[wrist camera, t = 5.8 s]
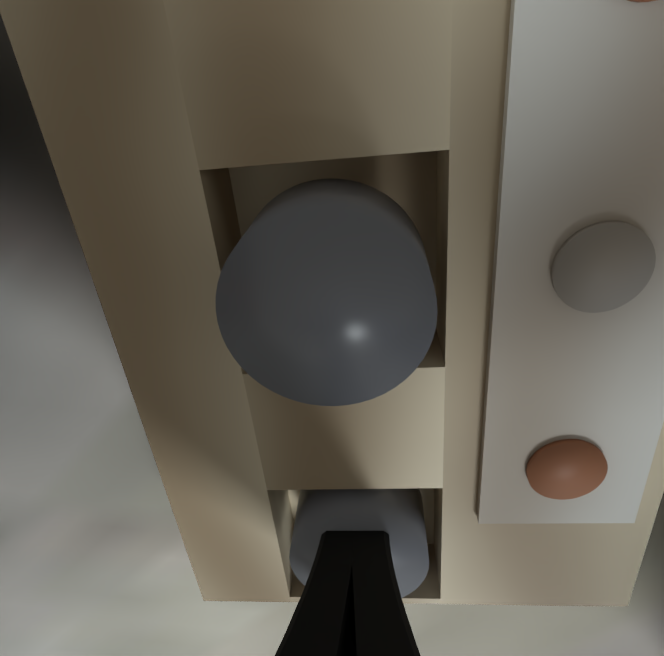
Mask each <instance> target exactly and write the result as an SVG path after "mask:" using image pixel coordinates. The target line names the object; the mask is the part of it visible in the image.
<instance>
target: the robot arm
mask: <svg viewBox="0 0 664 656" xmlns="http://www.w3.org/2000/svg"><path fill="white" fill-rule="evenodd" d="M275 656H420V653H419V650H418V648H417V645H416V642H415V639H414V636H413V633H412V630H411V627H410V624H409V621H408V618H407V614H406V611H405V608H404V605H403V601H402V598H401V594H400V590H399V586H398V583H397V579H396V575H395V570H394V566H393V560H392V555H391V548H390V539H389V534H388V533H387V532H385V531H325V532H324V533H323V534H321V538H320V542H319V546H318V549H317V553H316V556H315V559H314V562H313V565H312V568H311V571H310V574H309V577H308V579H307V582H306V585H305V587H304V590H303V593H302V595H301V598H300V600H299V602H298V605H297V607H296V609H295V612H294V614H293V617H292V619H291V621H290V624H289V626H288V628H287V631H286V633H285V635H284V637H283V640H282V642H281V644H280V646H279V648H278V650H277V652H276V654H275Z"/></svg>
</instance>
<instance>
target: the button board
mask: <svg viewBox="0 0 664 656" xmlns="http://www.w3.org/2000/svg"><path fill="white" fill-rule="evenodd" d="M0 13H1V16H2V19H3V22H4V25H5V28H6V31H7V34H8V37H9V39H10V42H11V45H12V48H13V51H14V54H15V57H16V60H17V63H18V65H19V68H20V71H21V74H22V77H23V80H24V83H25V86H26V89H27V91H28V94H29V97H30V100H31V103H32V106H33V109H34V112H35V114H36V117H37V120H38V123H39V126H40V129H41V132H42V135H43V138H44V140H45V143H46V146H47V149H48V152H49V155H50V158H51V161H52V164H53V166H54V169H55V172H56V175H57V178H58V181H59V184H60V187H61V190H62V192H63V195H64V198H65V201H66V204H67V207H68V210H69V213H70V216H71V218H72V221H73V224H74V227H75V230H76V233H77V236H78V239H79V242H80V244H81V247H82V250H83V253H84V256H85V259H86V262H87V265H88V268H89V270H90V273H91V276H92V279H93V282H94V285H95V288H96V291H97V294H98V296H99V299H100V302H101V305H102V308H103V311H104V314H105V317H106V320H107V322H108V325H109V328H110V331H111V334H112V337H113V340H114V343H115V346H116V348H117V351H118V354H119V357H120V360H121V363H122V366H123V369H124V372H125V374H126V377H127V380H128V383H129V386H130V389H131V392H132V395H133V398H134V400H135V403H136V406H137V409H138V412H139V415H140V418H141V421H142V424H143V426H144V429H145V432H146V435H147V438H148V441H149V444H150V447H151V450H152V452H153V455H154V458H155V461H156V464H157V467H158V470H159V473H160V476H161V478H162V481H163V484H164V487H165V490H166V493H167V496H168V499H169V502H170V504H171V507H172V510H173V513H174V516H175V519H176V522H177V525H178V528H179V530H180V533H181V536H182V539H183V542H184V545H185V548H186V551H187V554H188V556H189V559H190V562H191V565H192V568H193V571H194V574H195V577H196V580H197V582H198V585H199V588H200V591H201V594H202V597H203V600H204V601H256V602H299V600H300V598H301V595H302V593H303V590H304V587H305V585H303V584H302V583H301V582H300V581H299V580H298V578H297V577H296V575H295V574H294V572H293V570H292V568H291V565H290V559H289V554H290V547H291V541H292V535H293V529H294V523H295V517H296V511H297V505H298V499H299V493H300V490H313V489H407V488H419V490H420V492H421V496H422V501H423V510H424V519H425V528H426V538H427V547H428V556H429V570H428V573H427V576H426V577H425V579H424V581H423V582H422V583H421V585H420V586H419V587H418V588H417V589H416V590H414V591H413V592H411V593H410V594H408V595H407V596H405V597H403V598H402V601H403V604H474V605H547V606H619V607H628V604H629V601H630V598H631V595H632V592H633V588H634V585H635V582H636V579H637V576H638V572H639V569H640V566H641V563H642V560H643V556H644V553H645V550H646V547H647V544H648V540H649V537H650V534H651V531H652V528H653V524H654V521H655V518H656V515H657V512H658V508H659V505H660V502H661V499H662V496H663V492H664V0H0ZM327 178H338V179H346V180H352V181H356V182H360V183H364V184H366V185H368V186H371V187H373V188H376V189H377V190H379V191H381V192H383V193H384V194H386V195H387V196H389V197H390V198H391V199H393V200H394V201H395V202H396V203H398V204H399V206H400V207H401V208H402V209H403V210H404V211H405V212H406V213H407V214H408V216H409V217H410V218H411V220H412V221H413V223H414V224H415V226H416V228H417V230H418V232H419V234H420V237H421V240H422V242H423V246H424V249H425V253H426V257H427V261H428V265H429V269H430V273H431V276H432V280H433V284H434V289H435V293H436V298H437V311H438V313H437V325H436V329H435V333H434V338H433V340H432V343H431V345H430V348H429V350H428V352H427V354H426V355H425V357H424V359H423V360H422V362H421V363H420V364H419V366H418V367H417V368H416V370H415V371H414V372H413V373H412V374H411V375H410V376H409V377H408V378H407V379H406V380H404V381H403V382H402V383H400V384H399V385H398V386H397V387H395V388H393V389H392V390H390V391H388V392H387V393H385V394H383V395H381V396H378V397H376V398H374V399H371V400H368V401H364V402H361V403H356V404H351V405H343V406H319V405H311V404H306V403H302V402H297V401H294V400H291V399H288V398H286V397H283V396H281V395H279V394H277V393H274V392H272V391H271V390H269V389H267V388H266V387H264V386H263V385H261V384H260V383H258V382H257V381H256V380H254V379H253V378H252V377H251V376H250V375H249V374H248V373H246V372H245V371H244V370H243V369H242V368H241V366H240V365H239V364H238V363H237V361H236V360H235V359H234V358H233V356H232V355H231V353H230V351H229V350H228V348H227V346H226V344H225V342H224V340H223V338H222V335H221V332H220V329H219V326H218V322H217V316H216V299H215V297H216V290H217V283H218V280H219V277H220V273H221V270H222V268H223V266H224V264H225V262H226V260H227V258H228V257H229V255H230V254H231V252H232V251H233V249H234V248H235V246H236V245H237V243H238V242H239V240H240V239H241V238H242V236H243V235H244V233H245V232H246V231H247V229H248V228H249V226H250V225H251V224H252V222H253V221H254V219H255V218H256V216H257V215H258V214H259V212H260V211H261V210H262V209H263V208H264V207H265V206H266V205H267V203H269V202H270V201H271V200H272V199H273V198H275V197H276V196H277V195H279V194H280V193H282V192H284V191H285V190H287V189H289V188H291V187H293V186H295V185H298V184H301V183H304V182H308V181H311V180H318V179H327Z"/></svg>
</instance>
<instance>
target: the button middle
mask: <svg viewBox="0 0 664 656" xmlns="http://www.w3.org/2000/svg"><path fill="white" fill-rule="evenodd" d="M215 299H216V316H217V322H218V326H219V329H220V332H221V335H222V338H223V340H224V342H225V344H226V346H227V348H228V350H229V351H230V353H231V355H232V356H233V358H234V359H235V360H236V361H237V363H238V364H239V365H240V366H241V368H242V369H243V370H244V371H245V372H246V373H248V374H249V375H250V376H251V377H252V378H253V379H254V380H256V381H257V382H258V383H260V384H261V385H263V386H264V387H266V388H267V389H269V390H271V391H272V392H274V393H277V394H279V395H281V396H283V397H286V398H288V399H291V400H294V401H297V402H302V403H306V404H311V405H319V406H343V405H351V404H356V403H361V402H364V401H368V400H371V399H374V398H376V397H378V396H381V395H383V394H385V393H387V392H388V391H390V390H392V389H393V388H395V387H397V386H398V385H399V384H400V383H402V382H403V381H404V380H406V379H407V378H408V377H409V376H410V375H411V374H412V373H413V372H414V371H415V370H416V368H417V367H418V366H419V364H420V363H421V362H422V360H423V359H424V357H425V355H426V354H427V352H428V350H429V348H430V345H431V343H432V340H433V338H434V333H435V329H436V325H437V313H438V311H437V298H436V293H435V289H434V284H433V280H432V276H431V273H430V269H429V265H428V261H427V257H426V253H425V249H424V246H423V242H422V240H421V237H420V234H419V232H418V230H417V228H416V226H415V224H414V223H413V221H412V220H411V218H410V217H409V216H408V214H407V213H406V212H405V211H404V210H403V209H402V208H401V207H400V206H399V204H398V203H396V202H395V201H394V200H393V199H391V198H390V197H389V196H387V195H386V194H384V193H383V192H381V191H379V190H377V189H376V188H373V187H371V186H368V185H366V184H364V183H360V182H356V181H352V180H346V179H338V178H327V179H318V180H311V181H308V182H304V183H301V184H298V185H295V186H293V187H291V188H289V189H287V190H285V191H284V192H282V193H280V194H279V195H277V196H276V197H275V198H273V199H272V200H271V201H270V202H269V203H267V205H266V206H265V207H264V208H263V209H262V210H261V211H260V212H259V214H258V215H257V216H256V218H255V219H254V221H253V222H252V224H251V225H250V226H249V228H248V229H247V231H246V232H245V233H244V235H243V236H242V238H241V239H240V240H239V242H238V243H237V245H236V246H235V248H234V249H233V251H232V252H231V254H230V255H229V257H228V258H227V260H226V262H225V264H224V266H223V268H222V270H221V273H220V277H219V280H218V283H217V290H216V297H215Z"/></svg>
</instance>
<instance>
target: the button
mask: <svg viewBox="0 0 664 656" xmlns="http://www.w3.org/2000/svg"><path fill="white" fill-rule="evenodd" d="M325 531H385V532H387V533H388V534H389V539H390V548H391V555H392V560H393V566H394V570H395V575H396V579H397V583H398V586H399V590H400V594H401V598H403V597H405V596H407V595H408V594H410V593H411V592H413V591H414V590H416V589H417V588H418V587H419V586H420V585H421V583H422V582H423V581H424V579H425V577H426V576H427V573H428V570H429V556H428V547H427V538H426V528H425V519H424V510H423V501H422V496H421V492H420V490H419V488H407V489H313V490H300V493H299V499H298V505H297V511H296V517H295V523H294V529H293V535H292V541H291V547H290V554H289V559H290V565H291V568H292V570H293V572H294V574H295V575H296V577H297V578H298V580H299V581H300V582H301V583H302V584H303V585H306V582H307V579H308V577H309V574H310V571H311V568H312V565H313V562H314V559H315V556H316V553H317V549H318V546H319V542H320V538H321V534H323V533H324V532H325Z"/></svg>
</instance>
